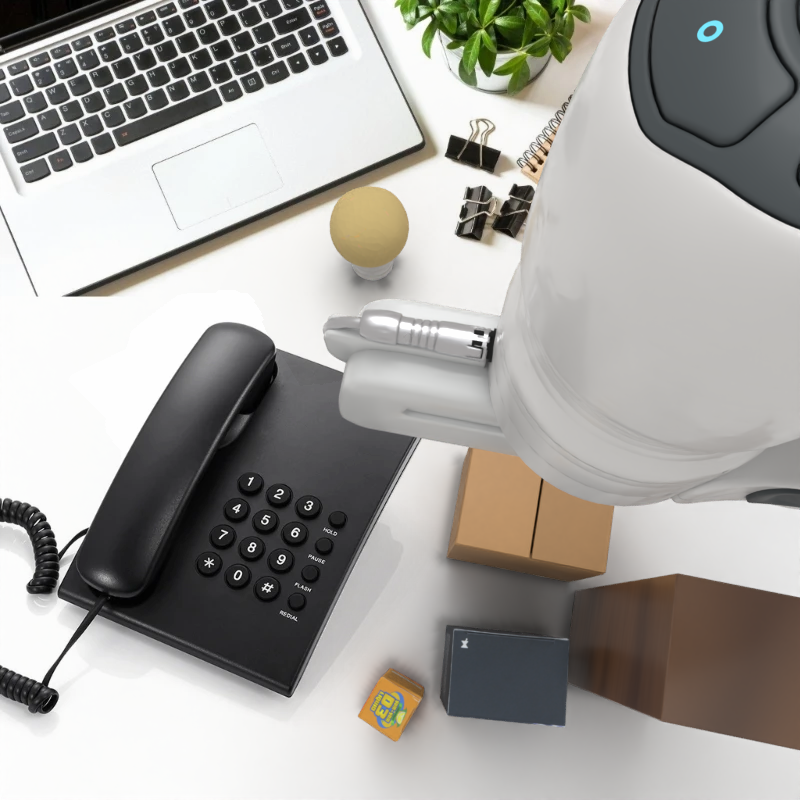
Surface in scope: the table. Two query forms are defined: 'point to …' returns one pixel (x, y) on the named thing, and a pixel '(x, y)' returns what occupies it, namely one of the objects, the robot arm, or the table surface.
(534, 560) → the carton
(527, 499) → the flap
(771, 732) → the stand
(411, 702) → the supplement box
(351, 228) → the light bulb
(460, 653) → the box
